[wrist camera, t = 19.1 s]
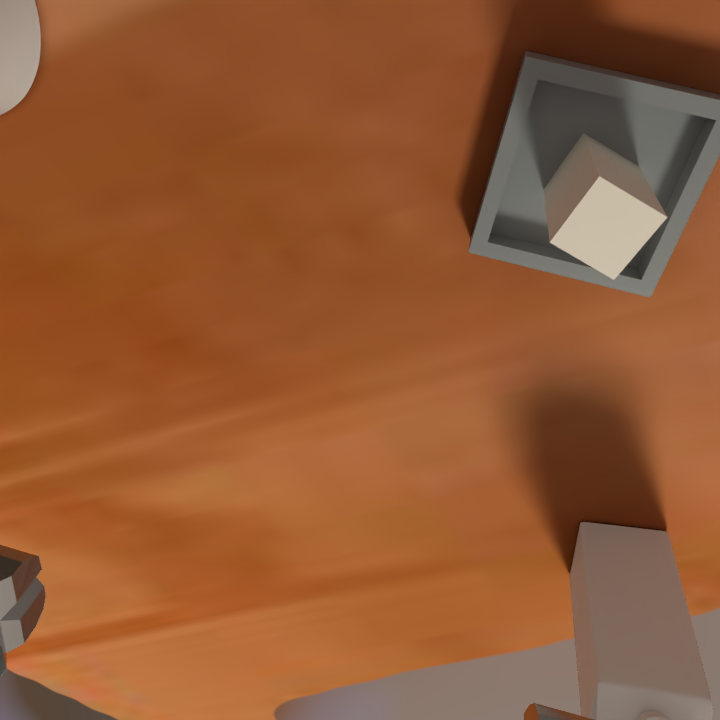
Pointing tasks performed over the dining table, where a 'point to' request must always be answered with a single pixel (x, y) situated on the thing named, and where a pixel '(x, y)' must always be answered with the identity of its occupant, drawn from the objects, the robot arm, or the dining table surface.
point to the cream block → (600, 207)
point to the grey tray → (612, 129)
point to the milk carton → (634, 628)
